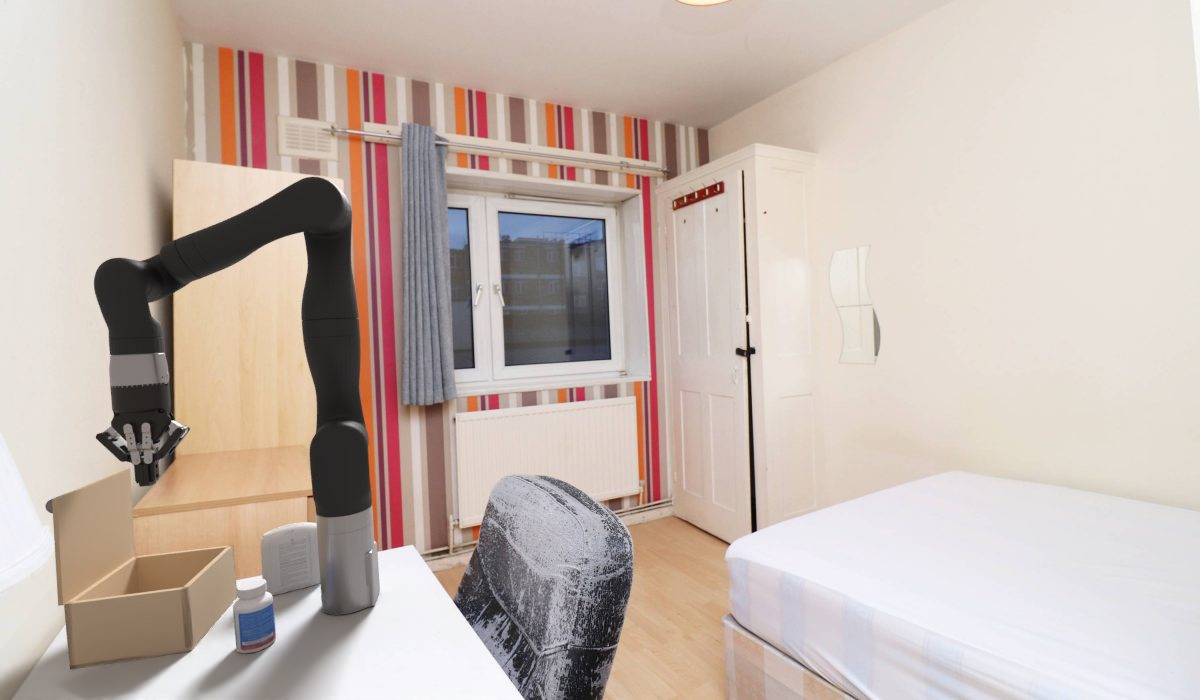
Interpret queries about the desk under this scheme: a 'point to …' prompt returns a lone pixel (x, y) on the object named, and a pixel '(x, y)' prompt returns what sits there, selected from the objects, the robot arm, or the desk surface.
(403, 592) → the desk surface
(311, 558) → the photo printer
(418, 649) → the desk surface
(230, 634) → the desk surface
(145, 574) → the carton
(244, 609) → the pill bottle
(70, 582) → the carton lid
